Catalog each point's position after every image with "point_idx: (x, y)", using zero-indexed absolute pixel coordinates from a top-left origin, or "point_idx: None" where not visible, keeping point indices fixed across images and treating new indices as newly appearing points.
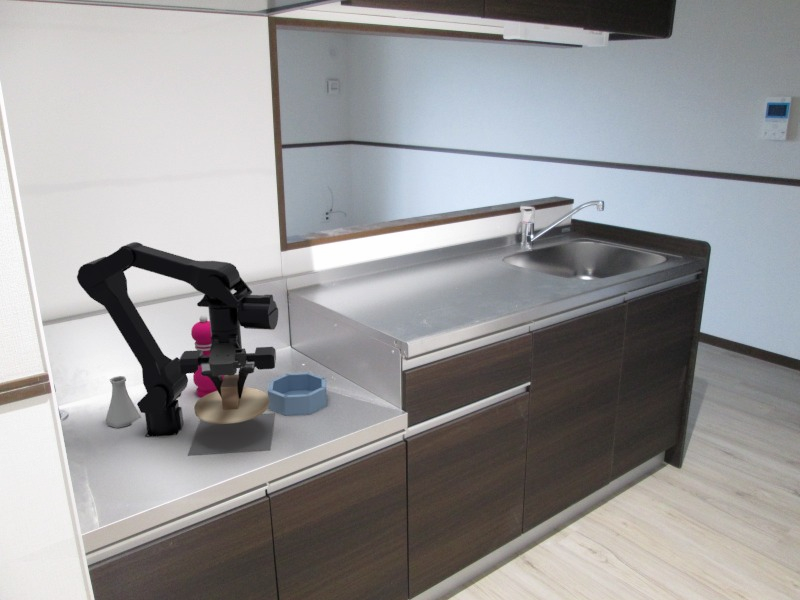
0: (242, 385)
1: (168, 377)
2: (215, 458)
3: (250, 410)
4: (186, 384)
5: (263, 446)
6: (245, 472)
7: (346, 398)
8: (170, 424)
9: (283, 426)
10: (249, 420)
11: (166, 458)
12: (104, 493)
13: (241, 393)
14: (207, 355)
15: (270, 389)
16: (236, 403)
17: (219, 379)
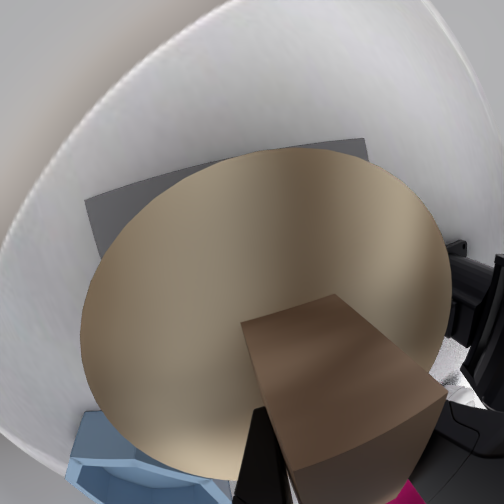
0: (246, 491)
1: None
2: (273, 137)
3: (143, 313)
4: (484, 388)
5: (115, 221)
6: (139, 68)
7: (68, 461)
8: None
9: None
10: None
11: (407, 143)
12: (435, 32)
13: (250, 435)
14: (413, 502)
15: (207, 484)
16: (254, 342)
17: (457, 456)
